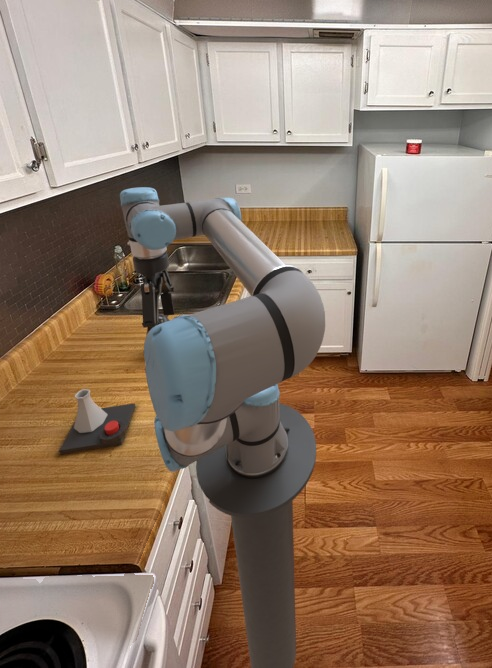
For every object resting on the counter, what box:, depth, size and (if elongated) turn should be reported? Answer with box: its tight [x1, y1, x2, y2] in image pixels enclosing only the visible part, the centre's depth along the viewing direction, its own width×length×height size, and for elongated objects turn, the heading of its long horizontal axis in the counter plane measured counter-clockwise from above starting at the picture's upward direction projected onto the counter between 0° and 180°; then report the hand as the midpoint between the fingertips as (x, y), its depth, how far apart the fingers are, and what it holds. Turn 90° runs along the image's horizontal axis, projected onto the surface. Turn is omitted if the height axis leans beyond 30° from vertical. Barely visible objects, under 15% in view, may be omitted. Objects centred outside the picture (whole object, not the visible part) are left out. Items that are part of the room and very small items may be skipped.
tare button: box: [104, 421, 119, 435], centre depth 85 cm, size 3×3×2 cm
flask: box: [73, 388, 108, 433], centre depth 87 cm, size 7×7×10 cm
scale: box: [58, 402, 136, 455], centre depth 88 cm, size 14×12×3 cm
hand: (164, 328), depth 86 cm, fingers open, 13 cm apart
